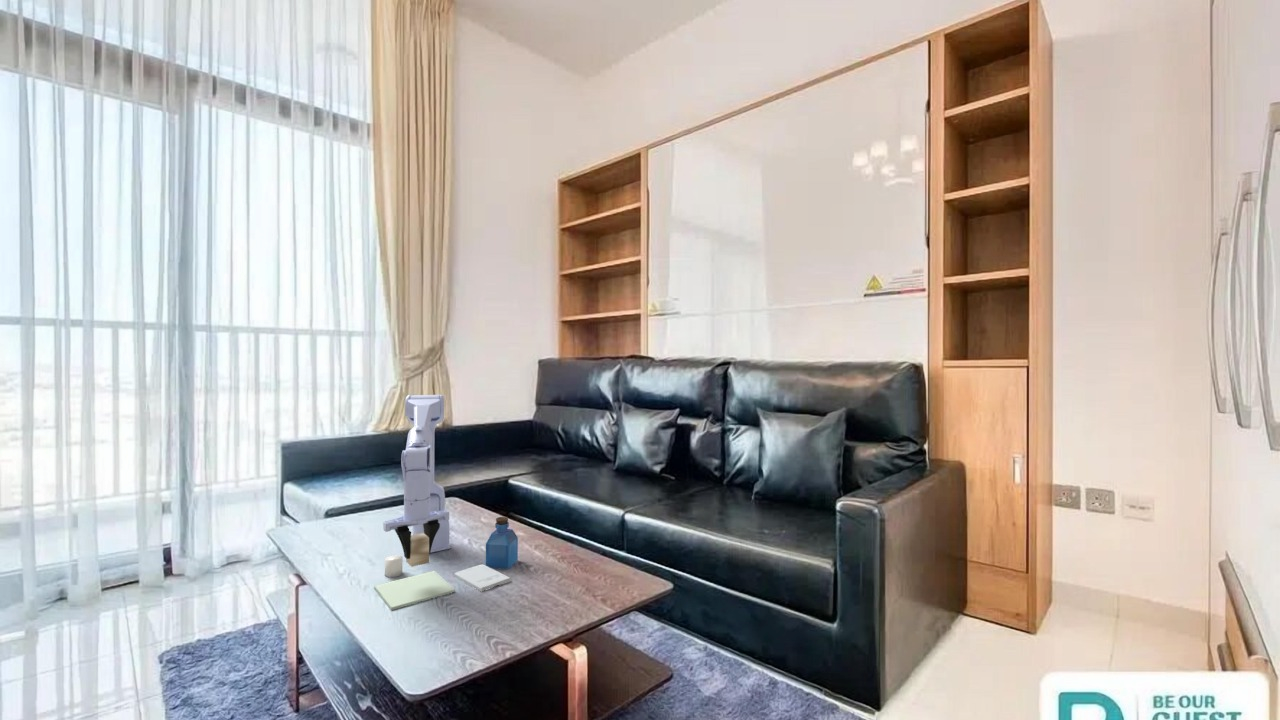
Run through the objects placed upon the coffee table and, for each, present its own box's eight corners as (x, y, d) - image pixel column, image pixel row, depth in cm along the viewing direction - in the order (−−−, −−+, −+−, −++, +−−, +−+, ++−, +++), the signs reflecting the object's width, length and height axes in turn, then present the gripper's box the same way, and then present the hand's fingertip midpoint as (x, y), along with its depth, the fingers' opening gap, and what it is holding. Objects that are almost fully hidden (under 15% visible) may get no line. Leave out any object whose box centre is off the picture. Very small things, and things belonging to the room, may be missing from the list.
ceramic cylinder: (399, 569, 140) (399, 554, 140) (404, 574, 137) (404, 558, 137) (382, 573, 138) (382, 557, 138) (387, 578, 135) (387, 562, 135)
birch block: (423, 557, 132) (423, 532, 132) (429, 562, 129) (429, 537, 129) (406, 561, 129) (406, 536, 129) (411, 566, 126) (411, 541, 126)
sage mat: (434, 573, 138) (434, 570, 138) (455, 592, 127) (455, 589, 127) (374, 588, 129) (374, 585, 129) (391, 610, 118) (391, 607, 118)
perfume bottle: (485, 567, 142) (485, 521, 142) (495, 558, 148) (495, 514, 148) (508, 569, 141) (508, 523, 140) (517, 560, 147) (517, 515, 147)
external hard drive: (483, 569, 142) (511, 583, 133) (454, 579, 136) (481, 594, 127) (483, 563, 142) (511, 576, 133) (454, 572, 136) (481, 587, 127)
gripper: (389, 507, 121) (389, 568, 122) (453, 496, 131) (453, 552, 131) (380, 500, 127) (380, 558, 127) (443, 490, 136) (443, 544, 136)
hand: (417, 555), depth 129 cm, fingers closed on birch block, 4 cm apart
